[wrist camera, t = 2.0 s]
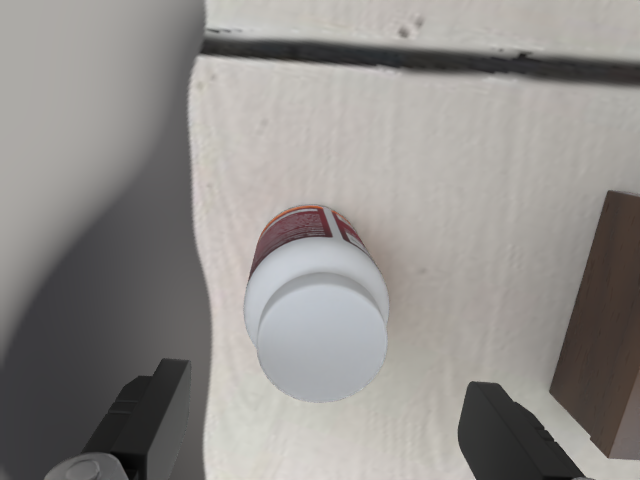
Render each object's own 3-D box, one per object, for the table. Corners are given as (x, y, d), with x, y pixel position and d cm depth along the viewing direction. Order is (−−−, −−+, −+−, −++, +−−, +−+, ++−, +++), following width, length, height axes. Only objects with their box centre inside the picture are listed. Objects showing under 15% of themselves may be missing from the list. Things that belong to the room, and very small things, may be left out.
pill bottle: (246, 289, 26) (214, 404, 15) (270, 190, 24) (253, 242, 14) (344, 311, 27) (379, 435, 16) (373, 217, 25) (432, 285, 15)
